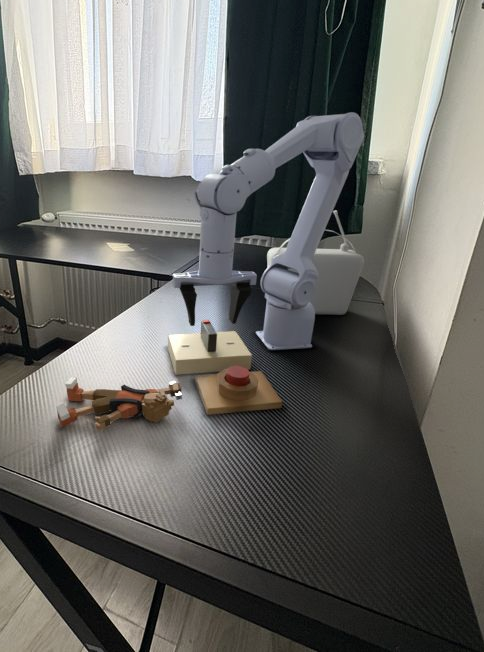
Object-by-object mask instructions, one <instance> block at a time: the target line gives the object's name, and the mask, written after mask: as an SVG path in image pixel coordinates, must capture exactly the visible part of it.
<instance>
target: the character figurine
mask: <svg viewBox="0 0 484 652" xmlns="http://www.w3.org/2000/svg"><path fill="white" fill-rule="evenodd" d="M64 385H65V388H66V396H67V399H68V401H69V402H82V401H83V400H89V401H91V404H90V405H88V406H84V407H81V408H77V409H76V408H74V407H73V408H72V407H70V408H67V406H66V404H65V403H61V404H60V405H57V406H56V414H57V419H58V422H59V424H60V426H61V428H63V427H66V426H69V425H71V424H73V423H75V422H76V421H77V420H78V418H79V417H81V416H86V415H89V414H93V413H94V415H95V416H94V421H96V422H94V428H95V430H97V431H99V432H101V431H103V430H104V429H106V428H108V427H110V426H111V423H113V422H114V421H117V420H118V419H129V418H131V417H133V418H134V419H135V418H139V417H140V416H141V414H142V416H143V417H144V418H145V419H146V420H148V421H149V422H155V423H159V422H160V421H161V420H163V419H164V418H166V417H167V416H168V415H169V414H170V411H171V410H172V409H173V408H172V407H174V406H175V400H174V399H169V397H168V396H167V395H170V397H171V398H173V397H175V399H176V401H178V400H182V399H183V393H182V392H183V391H182V387H181V384H180V382H176V381H175V380H173V381H170V382H169V384H168V387H163V388H157V389H155V388H146V389H137V388H133V387H130V386H128V385H126V384H122V385H121V386H120V389H121V390H120V389H107V388H106V389H105V388H97V389H94V390H93V389H92V390H84V388H81V387H79V383H78V378H77V376H76V377H75V376H71V377H69V379H68V380H66V382H65V384H64ZM108 412H111V413H110V414H108V415H107V414H106V413H108ZM102 414H103V415H102ZM97 415H101V416H97Z"/></svg>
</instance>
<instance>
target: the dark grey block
mask: <svg viewBox="0 0 484 652" xmlns="http://www.w3.org/2000/svg"><path fill="white" fill-rule="evenodd" d="M216 332H217V331H216V330H215V328H214V326H213V324H212V323H211V321H210V319H202V320H201V323H200V333H201V339H202V341H203V343H204V345H205V347H206V349H207V351H208V352H215V351H216V344H217V333H216Z"/></svg>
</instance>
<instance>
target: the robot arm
mask: <svg viewBox="0 0 484 652" xmlns="http://www.w3.org/2000/svg"><path fill="white" fill-rule="evenodd" d="M364 133H365V132H364V129H363V122H362V119H361V117H360V116H359V114H358V113H356V112H354V111H353V112H352V111H351V112H347V113H340V114H329V115H326V114H325V115H309V116H307V117H305V118H304V119H302V120H300V121H298V122H297V123H296V126H295V127H294V128H293V129H291V130H290V131H288V132H287V133H286V134H285V135H283V136H282V137H280V138H279V139H278V140H277V141H275V142H274V143H272V145H270V146H268V148H266V149H265V150H264V149H261V148H247V149H245V150H244V151H243V156H242V157H240V158H239V159H237V160H235V161H234V162H232V163H231V164H225V165H223V166H222V167H221V171H220V172H219V173H210V174H207V175H205V176H204V177H203V178H202V179H201V180H200V182H199V184H198V186H197V189H196V190H195V191H194V199H195V202H196V204H197V206H198V207H199V217H200V233H199V234H200V235H199V236H200V237H199V258H198V270H195V271H188V272H180V273H172V287H174V289H179V291H180V293H181V296H182V298H183V301H184V304H185V307H186V312H187V318H188V323H189V325H190V327H195V326H196V305H197V304H196V303H197V299H198V298H197V297H198V294H197V292H196V288H195V287H202V286H204V287H205V286H228V285H229V286H230V287H229V288H230V304H229V311H228V320H229V321H230V322H231V324H233V325H235V324H237V321H238V318H239V315H240V313H241V311H242V308H243V306H244V305H245V304H246V301H247V300H248V299H249V297H250V296H251V295H252V291H253V288H252V287H251V286H257V279H258V278H257V277H258V274H257V273H256V272H254V271H248V270H247V271H245V270H244V271H243V270H233V266H234V265H233V264H234V253H235V239H236V225H237V215H238V212H240V211H241V210H242V209H243V208H244V206H245V204H246V201H247V199H248V197H250V196H251V195H252V194H253V193H255V192H256V191H257V190H259V189H261V187H263V186H265V185H266V184H268V183H269V182H271V181H272V180H273V179H274V177H275V174H276V169H278V168H279V167H281V166H282V165H284V164H286V163H287V162H289V161H291V160H292V159H294V158H296V157H297V156H300V155H301V154H302V153H303V155H304V157H305V158H306V160H307V162H308V163H309V165H310V167H311V168H313V169H314V171H315V177H314V179H313V182H312V184H311V186H310V189H309V192H308V194H307V197H306V199H305V201H304V204H303V206H302V208H301V210H300V211H301V212H300V214H299V216H298V219H297V221H296V223H295V226H294V229H293V230H292V233H291V236H290V237H289V238H290V240H289V241H288V242H287V245H286V247H285V248H286V250H285V252H283V253H281V254H279V255H277V256H276V257H274V258H273V259H272V261H271V264H270V265H269V267H268V266H267V268H266V269H265V270H264V272H263V273H262V275H261V278H260V289H261V291H262V292H263V293H264V298H265V299H266V303H265V304H266V305H265V312H264V321H263V329H262V330H257V331H255V335H256V336H257V337H258V338H259V339H260V341H261V342H262V344H263V345H264V346H265V348H266V349H267V350H269V351H282V350H284V351H285V350H297V349H298V350H299V349H311V348H313V345H312V344H311V343H312V339H313V332H314V326H315V320H316V314H315V312H314V308H313V306H312V304H311V303H310V301H311V300H312V298H313V296H314V293H315V286H316V281H317V278H318V276H319V273H318V271H317V269H316V268H315V266H314V264H313V263H312V259H313V256H314V254H315V251H316V249H318V247H319V244H320V242H321V240H322V237H323V235H324V232H325V230H326V228H327V225H328V223H329V220H330V218H331V216H332V214H333V211H334V208H335V207H336V204H337V202H338V200H339V198H340V195H341V193H342V190H343V187H344V185H345V183H346V180H347V179H348V176H349V172H350V170H351V169H352V166H353V165H354V162H355V160H356V157H357V155H358V153H359V151H360V148H361V145H362V143H363V141H364V139H365V134H364ZM290 268H291V269H295V270H297V271H298V272H299V274H298V273H296V272H293V271H290V270H288V269H290Z"/></svg>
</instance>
